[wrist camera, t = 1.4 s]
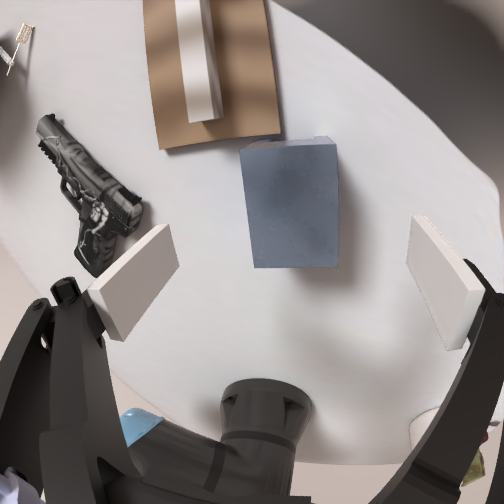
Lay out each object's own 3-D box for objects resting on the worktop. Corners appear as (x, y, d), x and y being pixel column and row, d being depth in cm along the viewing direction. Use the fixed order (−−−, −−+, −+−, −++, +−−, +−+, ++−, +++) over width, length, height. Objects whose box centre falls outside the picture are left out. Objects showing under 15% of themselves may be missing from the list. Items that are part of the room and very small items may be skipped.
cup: (402, 431, 44) (406, 471, 35) (417, 408, 39) (425, 453, 30) (441, 425, 42) (448, 462, 33) (460, 400, 37) (471, 441, 28)
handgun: (16, 190, 30) (40, 110, 24) (31, 183, 33) (58, 107, 27) (97, 284, 34) (140, 214, 27) (111, 271, 37) (156, 203, 30)
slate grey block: (331, 226, 28) (338, 266, 21) (268, 228, 29) (254, 268, 22) (327, 135, 24) (336, 144, 17) (258, 139, 25) (239, 150, 18)
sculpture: (458, 444, 46) (465, 488, 33) (446, 442, 46) (452, 489, 32) (486, 426, 42) (496, 471, 29) (476, 423, 41) (487, 472, 28)
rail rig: (281, 132, 24) (274, 137, 19) (163, 148, 27) (132, 158, 22) (255, -42, 16) (243, -71, 10) (146, -12, 18) (116, -29, 13)
